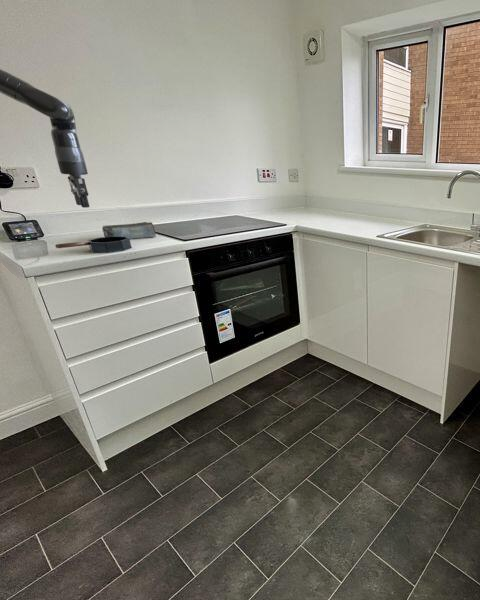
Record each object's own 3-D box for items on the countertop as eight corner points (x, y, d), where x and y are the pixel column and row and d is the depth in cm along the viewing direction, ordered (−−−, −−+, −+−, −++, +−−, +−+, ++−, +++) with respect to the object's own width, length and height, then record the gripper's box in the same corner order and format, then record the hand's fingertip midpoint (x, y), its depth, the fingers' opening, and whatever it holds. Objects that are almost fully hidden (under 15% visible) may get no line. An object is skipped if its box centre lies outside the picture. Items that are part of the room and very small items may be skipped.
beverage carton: (105, 238, 161) (101, 223, 159) (155, 234, 172) (152, 221, 170) (105, 241, 155) (101, 226, 153) (157, 237, 166) (153, 223, 164)
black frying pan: (61, 258, 128) (57, 247, 126) (55, 252, 135) (51, 241, 134) (134, 249, 144) (131, 239, 142) (125, 244, 151) (122, 234, 150)
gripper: (53, 159, 128) (66, 204, 134) (60, 160, 120) (74, 208, 126) (80, 160, 134) (91, 204, 140) (89, 161, 126) (100, 207, 131)
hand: (83, 206), depth 133 cm, fingers open, 8 cm apart
